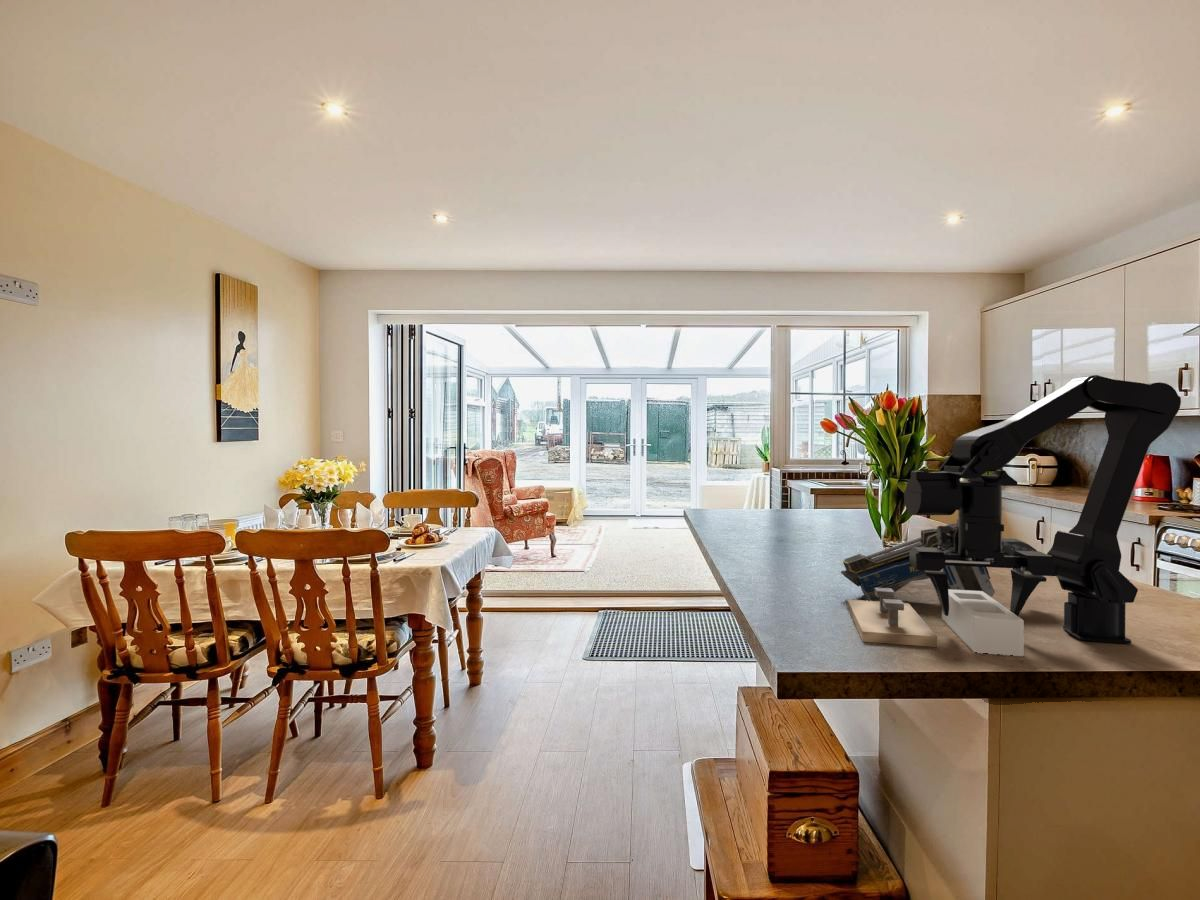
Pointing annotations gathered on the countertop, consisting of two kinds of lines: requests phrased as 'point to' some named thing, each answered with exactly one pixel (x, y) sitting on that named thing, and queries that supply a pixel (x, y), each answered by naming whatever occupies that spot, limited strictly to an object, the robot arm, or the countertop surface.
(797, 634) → the countertop surface
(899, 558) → the firearm
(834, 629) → the countertop surface
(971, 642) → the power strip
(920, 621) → the mounting board
